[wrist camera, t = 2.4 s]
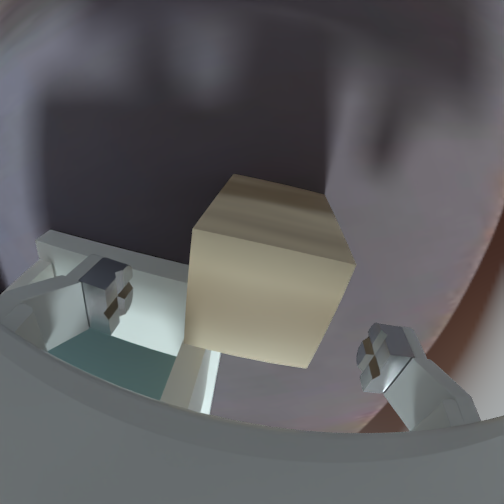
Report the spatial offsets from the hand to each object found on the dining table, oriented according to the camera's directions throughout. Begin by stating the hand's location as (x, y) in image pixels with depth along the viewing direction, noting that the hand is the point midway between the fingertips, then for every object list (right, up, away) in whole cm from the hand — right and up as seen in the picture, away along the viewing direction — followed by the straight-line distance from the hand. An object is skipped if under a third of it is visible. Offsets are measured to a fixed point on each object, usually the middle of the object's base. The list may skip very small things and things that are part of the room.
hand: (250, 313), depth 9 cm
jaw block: (+1, +3, +4) cm, 5 cm away
